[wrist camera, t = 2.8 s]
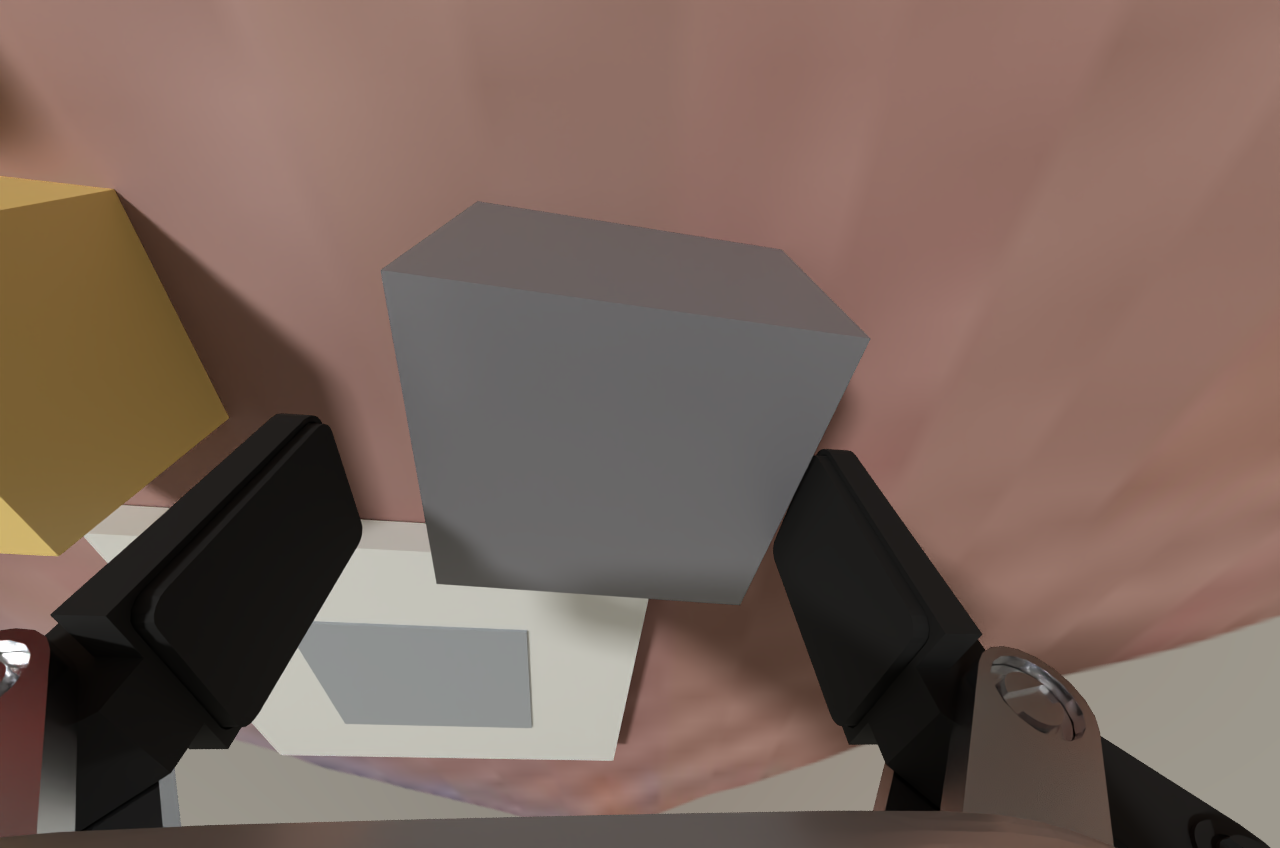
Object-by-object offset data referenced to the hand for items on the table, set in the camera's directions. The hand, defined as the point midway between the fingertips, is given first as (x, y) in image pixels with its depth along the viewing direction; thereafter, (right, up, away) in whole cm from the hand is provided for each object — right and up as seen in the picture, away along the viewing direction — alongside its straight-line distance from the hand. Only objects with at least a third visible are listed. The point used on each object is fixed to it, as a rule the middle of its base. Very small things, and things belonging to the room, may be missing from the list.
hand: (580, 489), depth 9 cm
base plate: (-8, -9, +12) cm, 17 cm away
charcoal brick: (+1, +3, +3) cm, 5 cm away
